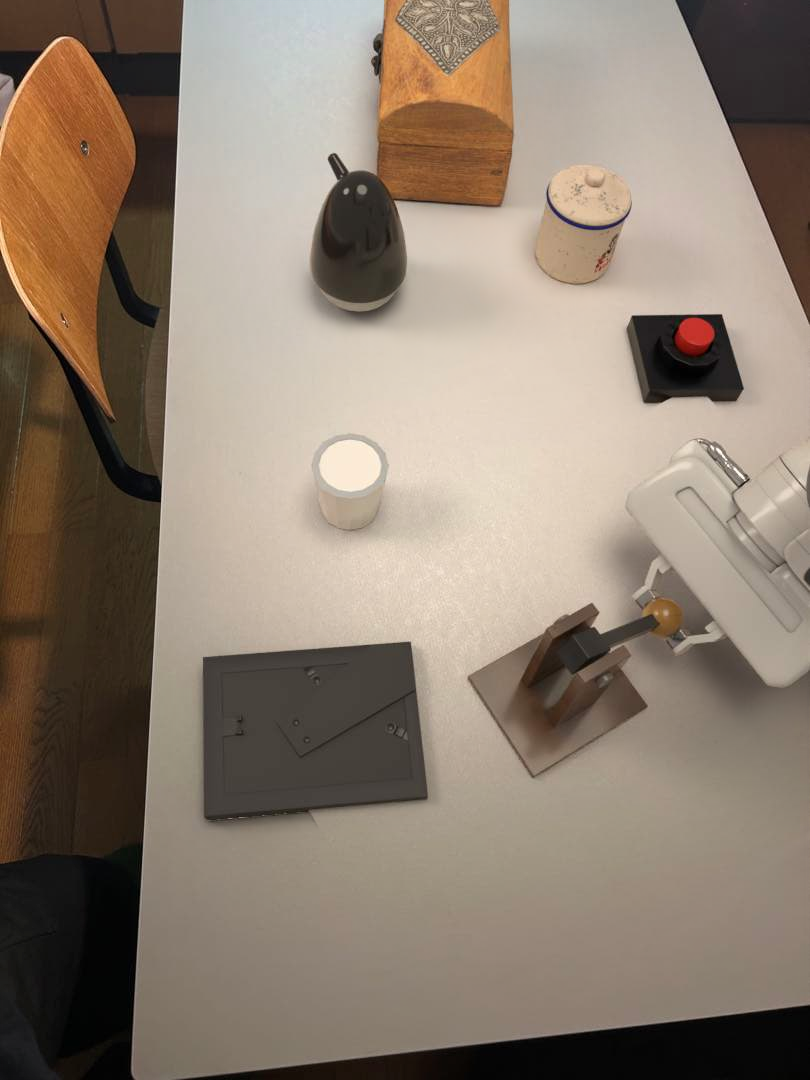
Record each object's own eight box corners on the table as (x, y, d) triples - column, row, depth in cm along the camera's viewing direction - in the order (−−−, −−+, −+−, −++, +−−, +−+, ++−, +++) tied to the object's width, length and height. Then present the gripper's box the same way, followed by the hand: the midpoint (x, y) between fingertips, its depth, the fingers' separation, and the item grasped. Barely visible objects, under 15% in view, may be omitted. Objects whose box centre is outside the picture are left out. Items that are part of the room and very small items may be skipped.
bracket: (576, 619, 85) (612, 555, 74) (643, 711, 81) (691, 658, 70) (465, 681, 81) (485, 624, 70) (530, 781, 78) (562, 737, 66)
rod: (649, 608, 82) (674, 586, 79) (673, 640, 80) (699, 618, 78) (546, 648, 72) (571, 624, 70) (572, 685, 71) (598, 661, 69)
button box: (715, 327, 102) (728, 302, 99) (736, 401, 98) (751, 377, 94) (626, 328, 101) (636, 303, 98) (643, 403, 97) (655, 379, 93)
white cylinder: (298, 504, 89) (295, 464, 83) (349, 461, 91) (349, 419, 85) (350, 549, 87) (350, 512, 81) (400, 504, 89) (404, 464, 83)
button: (704, 328, 97) (710, 317, 96) (712, 355, 96) (718, 344, 94) (670, 329, 97) (676, 317, 96) (678, 356, 95) (683, 345, 94)
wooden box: (375, 37, 123) (379, -74, 110) (500, 47, 123) (517, -62, 111) (362, 198, 108) (364, 92, 96) (503, 209, 109) (523, 104, 97)
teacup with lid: (607, 293, 104) (636, 212, 93) (526, 278, 104) (547, 195, 94) (617, 218, 109) (645, 134, 99) (541, 204, 110) (561, 118, 100)
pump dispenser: (370, 242, 105) (374, 126, 92) (422, 302, 102) (435, 191, 88) (292, 277, 102) (285, 162, 89) (343, 340, 98) (343, 231, 85)
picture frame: (409, 649, 82) (205, 664, 81) (411, 639, 80) (202, 655, 79) (426, 801, 76) (206, 822, 75) (428, 795, 74) (202, 816, 73)
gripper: (693, 421, 75) (569, 531, 81) (871, 623, 68) (720, 730, 73) (715, 432, 81) (597, 535, 86) (883, 621, 73) (741, 721, 78)
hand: (655, 626), depth 80 cm, fingers closed on rod, 3 cm apart
